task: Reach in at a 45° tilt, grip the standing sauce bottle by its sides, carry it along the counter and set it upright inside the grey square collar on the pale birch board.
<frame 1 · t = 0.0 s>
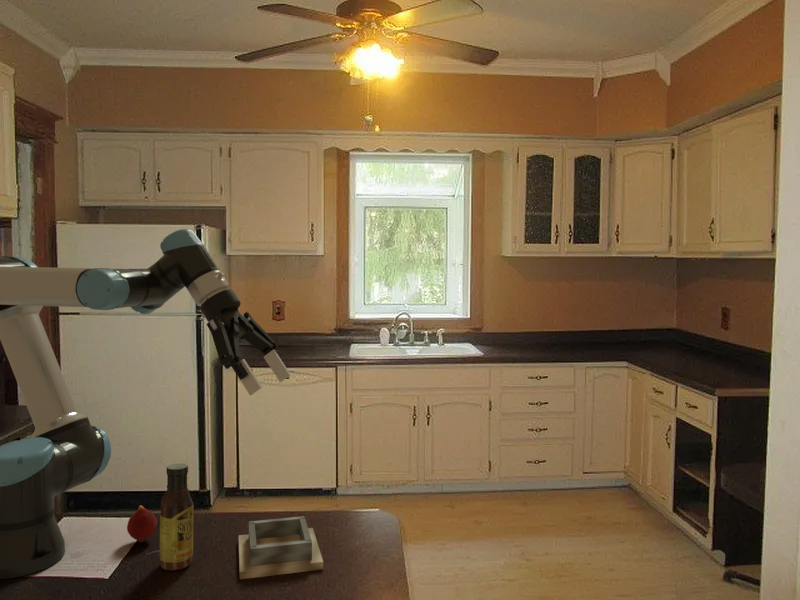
hand: (271, 384, 122), 36 cm above the table, tool tilted 35°, fingers open, 13 cm apart
bottle holder: (279, 555, 125), on the table
onion: (142, 542, 130), on the table
sauce bottle: (176, 565, 121), on the table
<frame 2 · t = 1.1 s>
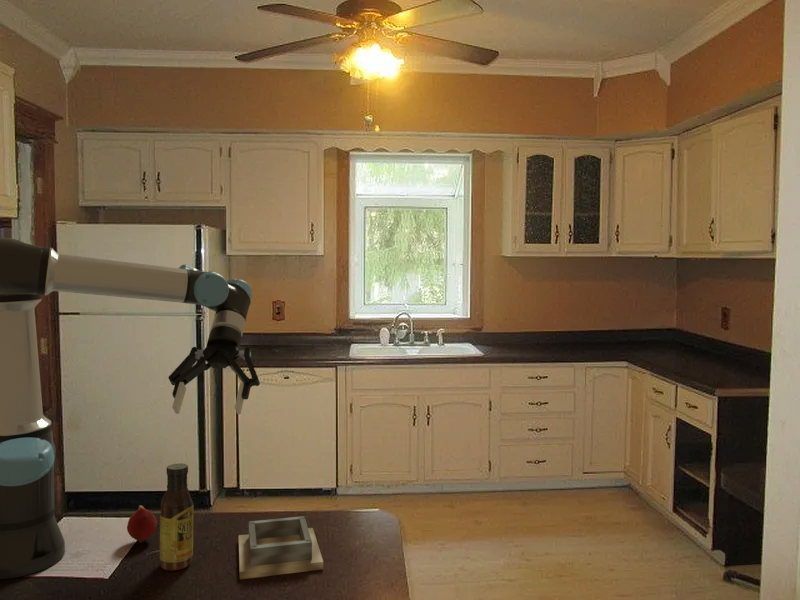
hand: (206, 410, 132), 28 cm above the table, tool tilted 45°, fingers open, 13 cm apart
nothing on the table moved.
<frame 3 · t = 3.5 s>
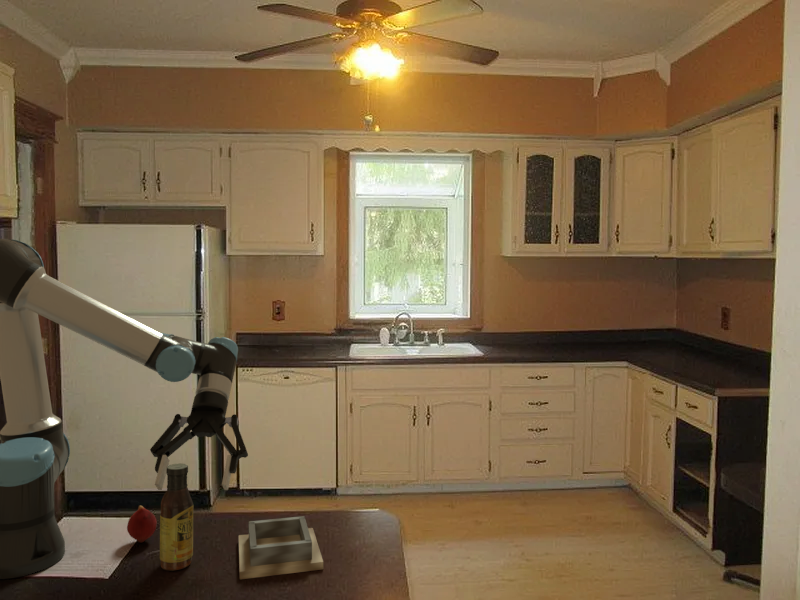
hand: (191, 487, 124), 14 cm above the table, tool tilted 45°, fingers open, 13 cm apart
nothing on the table moved.
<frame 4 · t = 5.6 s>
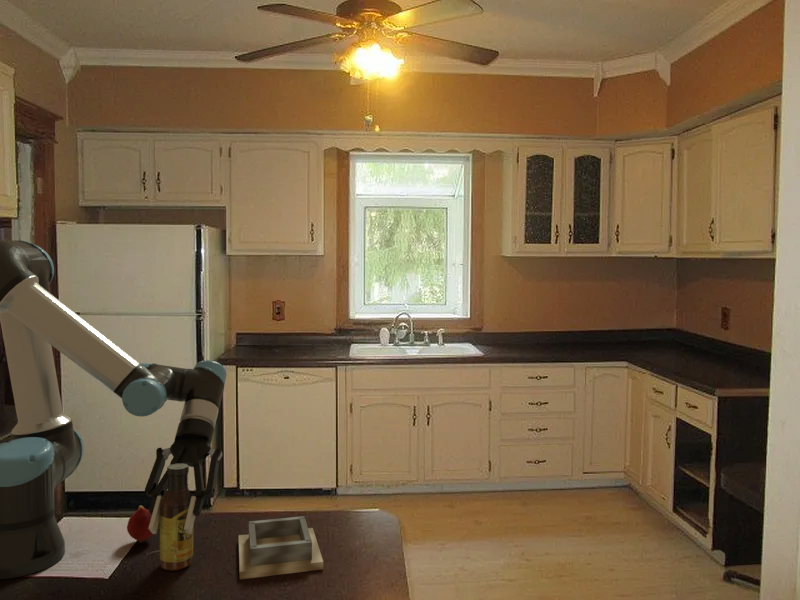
hand: (170, 531, 117), 8 cm above the table, tool tilted 45°, fingers closed on sauce bottle, 6 cm apart
sauce bottle: (176, 565, 121), on the table, touching gripper
everything else where it was.
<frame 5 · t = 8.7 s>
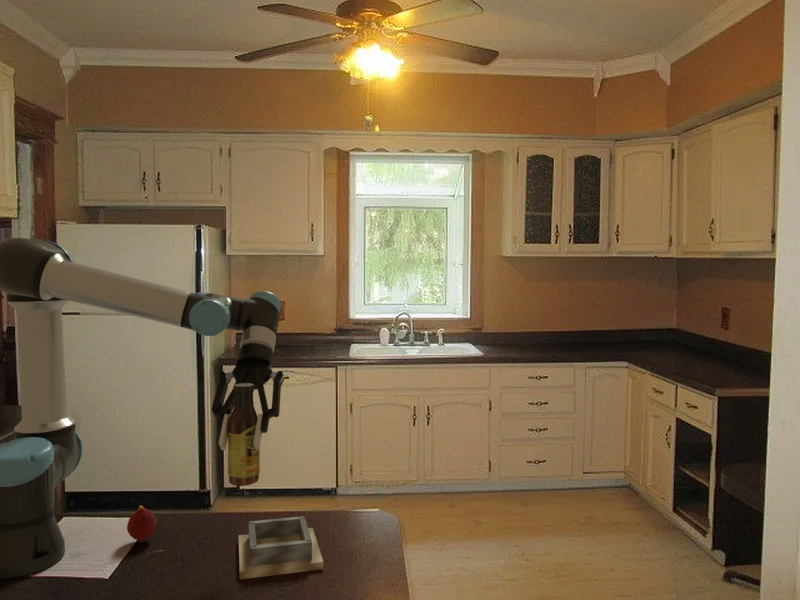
hand: (239, 446, 119), 24 cm above the table, tool tilted 45°, fingers closed on sauce bottle, 6 cm apart
sauce bottle: (244, 482, 123), point 16 cm above the table, touching gripper
everything else where it was.
when the fingers open (11 cm above the table, at t = 11.6 s): sauce bottle drops 1 cm, resting on bottle holder.
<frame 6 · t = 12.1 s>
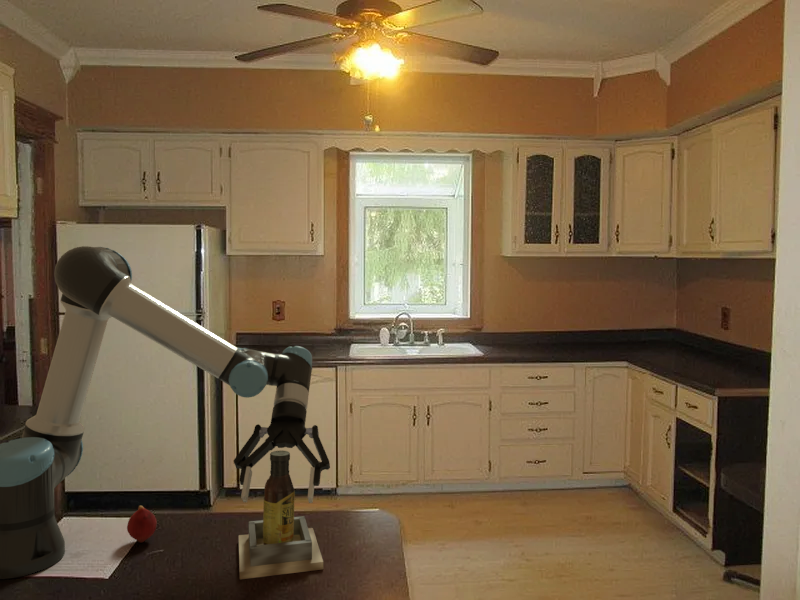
hand: (277, 500, 122), 13 cm above the table, tool tilted 45°, fingers open, 13 cm apart
sauce bottle: (278, 548, 125), point 1 cm above the table, touching bottle holder
everything else where it was.
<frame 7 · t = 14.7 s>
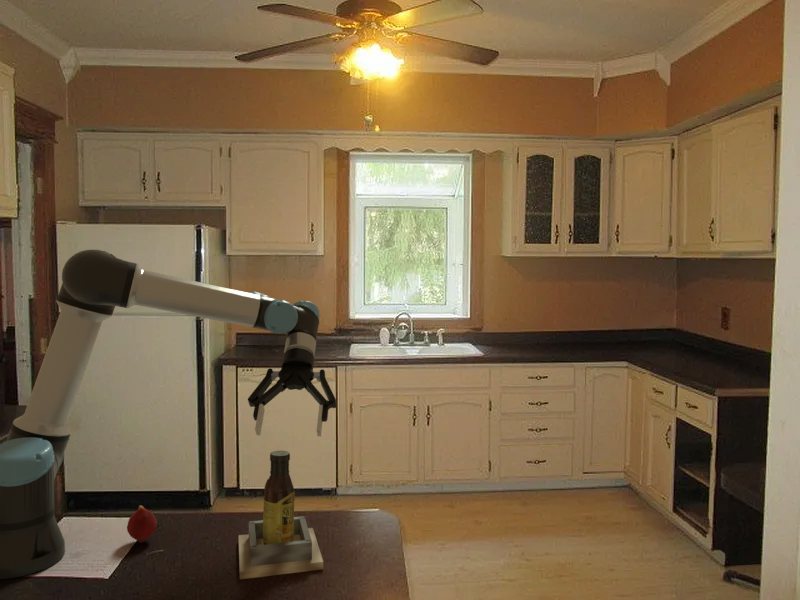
hand: (288, 433, 135), 23 cm above the table, tool tilted 45°, fingers open, 13 cm apart
nothing on the table moved.
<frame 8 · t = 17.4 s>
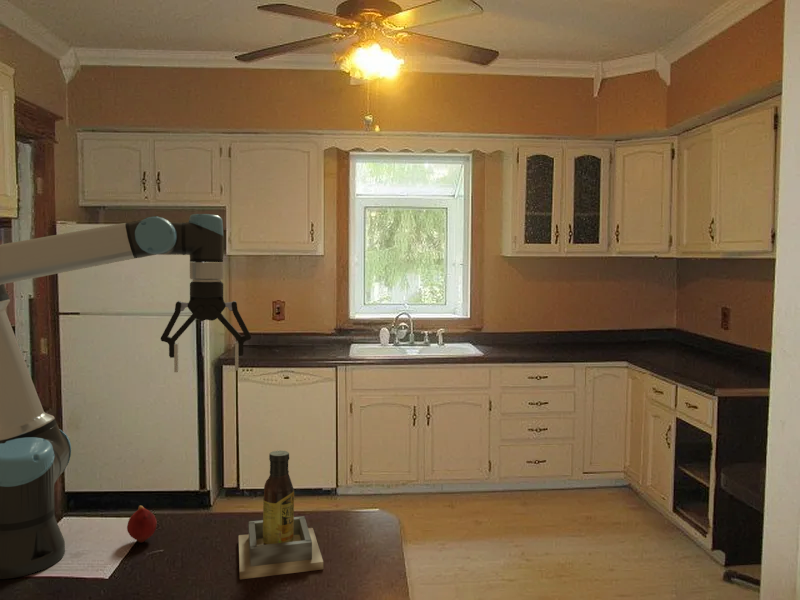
hand: (207, 370, 143), 35 cm above the table, tool pointing down, fingers open, 13 cm apart
nothing on the table moved.
at the end: sauce bottle 0.1 cm off-centre on the bottle holder, point 1.3 cm above the bottle holder's base; sauce bottle tilted 0°; the gripper is holding nothing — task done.
